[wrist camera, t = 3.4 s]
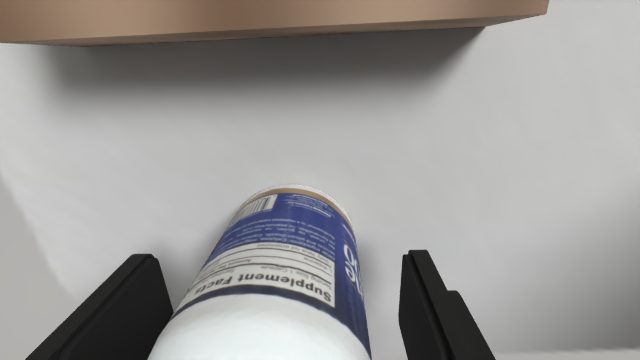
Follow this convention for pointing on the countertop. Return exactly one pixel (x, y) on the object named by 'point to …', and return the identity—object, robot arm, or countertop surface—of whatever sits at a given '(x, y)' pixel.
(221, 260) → the pill bottle
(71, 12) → the socket block
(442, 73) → the countertop surface
